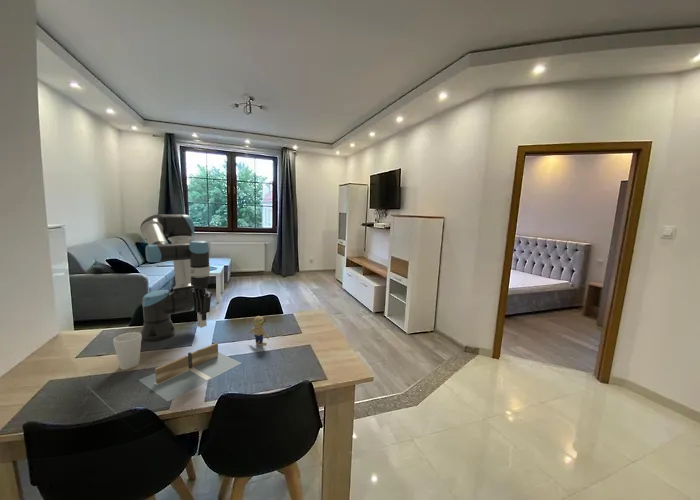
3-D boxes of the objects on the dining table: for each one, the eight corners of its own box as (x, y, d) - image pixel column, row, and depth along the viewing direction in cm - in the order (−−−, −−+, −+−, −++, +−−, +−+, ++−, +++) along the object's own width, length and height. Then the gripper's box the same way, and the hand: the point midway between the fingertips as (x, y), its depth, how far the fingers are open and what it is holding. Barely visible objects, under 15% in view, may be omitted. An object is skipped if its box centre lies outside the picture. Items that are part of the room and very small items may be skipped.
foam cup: (120, 361, 126) (117, 333, 124) (145, 358, 130) (143, 330, 128) (112, 373, 117) (109, 343, 115) (140, 369, 121) (137, 340, 119)
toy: (273, 344, 146) (273, 316, 144) (265, 349, 141) (265, 320, 139) (254, 339, 151) (253, 312, 149) (246, 343, 146) (245, 315, 144)
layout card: (138, 381, 113) (138, 380, 113) (211, 349, 139) (211, 348, 139) (167, 402, 102) (167, 401, 102) (241, 364, 128) (241, 363, 128)
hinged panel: (188, 367, 122) (187, 353, 121) (216, 354, 133) (216, 341, 132) (189, 368, 122) (188, 354, 121) (218, 355, 133) (217, 342, 132)
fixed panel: (156, 382, 112) (155, 368, 111) (187, 368, 122) (186, 355, 121) (157, 384, 111) (156, 369, 110) (188, 369, 121) (188, 356, 120)
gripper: (183, 274, 128) (185, 325, 132) (201, 279, 121) (203, 333, 125) (199, 271, 135) (201, 320, 138) (217, 276, 128) (219, 327, 131)
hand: (202, 326), depth 131 cm, fingers closed
